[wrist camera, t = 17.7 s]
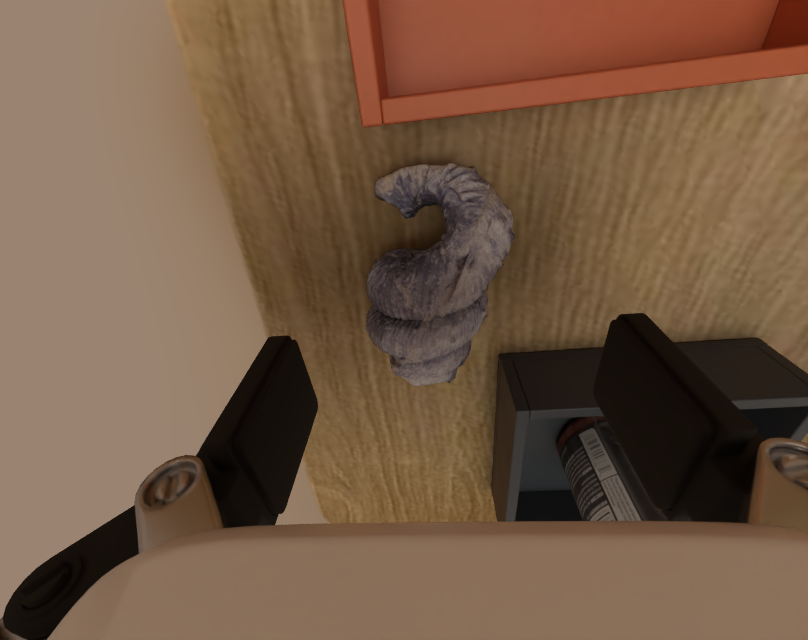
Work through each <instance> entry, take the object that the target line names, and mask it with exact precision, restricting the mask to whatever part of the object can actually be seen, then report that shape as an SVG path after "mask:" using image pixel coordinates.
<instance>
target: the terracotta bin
mask: <svg viewBox="0 0 808 640" xmlns="http://www.w3.org/2000/svg"><path fill="white" fill-rule="evenodd" d="M343 7H344V13H345V20H346V26H347V33H348V39H349V46H350V52H351V59H352V65H353V72H354V78H355V85H356V91H357V98H358V104H359V111H360V118H361V124H362V126H363V127H371V126H380V125H382V124H383V123H384V124H385V125H388V124H396V123H405V122H413V121H421V120H429V119H438V118H446V117H454V116H462V115H470V114H479V113H487V112H495V111H503V110H511V109H520V108H528V107H536V106H544V105H553V104H561V103H569V102H577V101H585V100H594V99H602V98H610V97H618V96H627V95H635V94H643V93H651V92H659V91H668V90H676V89H684V88H692V87H701V86H709V85H717V84H725V83H733V82H742V81H750V80H758V79H766V78H774V77H783V76H791V75H799V74H807V73H808V0H343Z"/></svg>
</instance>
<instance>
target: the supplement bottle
mask: <svg viewBox="0 0 808 640" xmlns="http://www.w3.org/2000/svg"><path fill="white" fill-rule="evenodd" d="M557 451H558V455H559V458H560V460H561V464H562V467H563V470H564V472H565V475H566V477H567V480H568V483H569V485H570V488H571V491H572V494H573V496H574V499H575V501H576V504H577V507H578V509H579V512H580V515H581V517H582V520H583V521H668V519H667V517H666V516H665V514H664V512H663V510H662V509H658V508H656V507H655V506H654V504H653V503H652V501H651V500H650V498H649V496H648V494H647V492H646V491H645V489H644V487H643V485H642V483H641V482H640V480H639V478H638V476H637V474H636V473H635V471H634V469H633V467H632V465H631V464H630V462H629V460H628V458H627V456H626V455H625V453H624V451H623V449H622V447H621V446H620V444H619V442H618V440H617V438H616V437H615V435H614V433H613V431H612V429H611V428H610V426H609V424H608V422H607V420H606V419H605V417H604V416H591V417H580V418H578V419H576V420H575V421H573V422H571V423H570V424H569V425H568V426H567V427H566V428H565V429H564V431H563V432H562V433H561V435H560V437H559V440H558V443H557Z"/></svg>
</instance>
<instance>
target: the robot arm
mask: <svg viewBox="0 0 808 640" xmlns="http://www.w3.org/2000/svg"><path fill="white" fill-rule="evenodd" d="M593 395H594V398H595V400H596V402H597V404H598V406H599V408H600V410H601V411H602V413H603V415H604V417H605V419H606V420H607V422H608V424H609V426H610V428H611V429H612V431H613V433H614V435H615V437H616V438H617V440H618V442H619V444H620V446H621V447H622V449H623V451H624V453H625V455H626V456H627V458H628V460H629V462H630V464H631V465H632V467H633V469H634V471H635V473H636V474H637V476H638V478H639V480H640V482H641V483H642V485H643V487H644V489H645V491H646V492H647V494H648V496H649V498H650V500H651V501H652V503H653V504H654V506H655V507H656V508H658V509H662V510H663V512H664V514H665V516H666V517H667V519H668V521H520V522H412V523H342V524H297V525H275V523H276V520H277V517H278V514H282V513H283V512H284V510H285V508H286V506H287V502H288V499H289V496H290V493H291V490H292V487H293V484H294V481H295V478H296V474H297V472H298V468H299V466H300V462H301V459H302V456H303V453H304V450H305V447H306V444H307V441H308V438H309V435H310V432H311V429H312V426H313V423H314V419H315V416H316V413H317V410H318V401H317V398H316V395H315V392H314V389H313V386H312V383H311V380H310V378H309V375H308V372H307V369H306V366H305V363H304V360H303V357H302V355H301V352H300V349H299V346H298V343H297V341H296V340H292V339H291V338H290V336H272V337H269V338H268V339H267V341H266V342H265V344H264V346H263V347H262V349H261V350H260V352H259V354H258V355H257V357H256V359H255V360H254V362H253V363H252V365H251V367H250V368H249V370H248V371H247V373H246V375H245V376H244V378H243V380H242V381H241V383H240V385H239V386H238V388H237V389H236V391H235V393H234V394H233V396H232V397H231V399H230V401H229V402H228V404H227V406H226V407H225V409H224V410H223V412H222V414H221V415H220V417H219V418H218V420H217V422H216V423H215V425H214V427H213V428H212V430H211V432H210V433H209V435H208V436H207V438H206V440H205V442H204V443H203V445H202V446H201V448H200V450H199V452H198V454H197V455H196V456H191V455H185V456H180V457H176V458H174V459H172V460H169V461H167V462H165V463H164V464H162V465H161V466H159V467H158V468H156V469H155V470H154V471H153V472H152V473H150V475H148V476H147V477H146V479H145V480H144V481H143V483H142V484H141V485H140V487H139V489H138V491H137V493H136V497H135V505H134V506H133V507H131V508H129V509H128V510H126V511H125V512H123V513H121V514H120V515H118V516H117V517H115V518H114V519H112V520H110V521H109V522H107V523H106V524H104V525H102V526H101V527H99V528H98V529H96V530H94V531H93V532H91V533H90V534H88V535H86V536H85V537H83V538H82V539H80V540H79V541H77V542H75V543H74V544H72V545H71V546H69V547H67V548H66V549H64V550H63V551H61V552H59V553H58V554H57V555H55V556H53V557H52V558H50V559H49V560H47V561H46V562H45V563H43V564H42V565H40V566H39V567H38V568H36V569H35V570H34V571H33V572H32V573H31V574H30V575H29V576H28V577H27V578H26V579H25V580H24V581H23V582H22V584H21V585H20V586H19V587H18V588H17V590H16V591H15V592H14V593H13V595H12V597H11V599H10V600H9V602H8V604H7V606H6V608H5V612H4V616H3V617H2V618H1V619H0V640H808V443H805V442H801V441H798V440H794V439H788V438H770V439H767V440H764V439H763V438H762V437H761V436H760V435H759V434H758V433H757V431H758V428H757V427H756V426H755V425H754V424H753V423H752V422H751V421H750V420H749V419H748V418H747V417H746V416H745V415H744V414H743V413H742V412H741V411H740V410H739V409H738V408H737V406H736V405H735V404H734V403H733V402H732V401H731V400H730V399H729V398H728V397H727V396H726V395H725V394H724V393H723V392H722V391H721V390H720V389H719V388H718V387H717V386H716V385H715V384H714V383H713V382H712V381H711V380H710V379H709V378H708V377H707V376H706V375H705V374H704V373H703V372H702V371H701V370H700V369H699V368H698V367H697V366H696V365H695V364H694V363H693V362H692V361H691V360H690V359H689V358H688V357H687V356H686V355H685V354H684V353H683V352H682V351H681V350H680V349H679V348H678V347H677V346H676V345H675V344H674V343H673V342H672V341H671V340H670V339H669V338H668V337H667V336H666V335H665V334H664V333H663V332H662V331H661V330H660V329H659V327H658V326H657V325H656V324H655V323H654V322H653V321H652V320H651V319H650V318H649V317H648V316H647V315H645V314H643V313H635V314H621V315H619V316H618V317H617V319H616V320H612V322H611V323H610V326H609V330H608V334H607V338H606V341H605V345H604V349H603V353H602V356H601V360H600V364H599V368H598V371H597V375H596V379H595V383H594V386H593Z"/></svg>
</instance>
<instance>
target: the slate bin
mask: <svg viewBox="0 0 808 640" xmlns="http://www.w3.org/2000/svg"><path fill="white" fill-rule="evenodd" d="M674 344H675V345H676V346H677V347H678V348H679V349H680V350H681V351H682V352H683V353H684V354H685V355H686V356H687V357H688V358H689V359H690V360H691V361H692V362H693V363H694V364H695V365H696V366H697V367H698V368H699V369H700V370H701V371H702V372H703V373H704V374H705V375H706V376H707V377H708V378H709V379H710V380H711V381H712V382H713V383H714V384H715V385H716V386H717V387H718V388H719V389H720V390H721V391H722V392H723V393H724V394H725V395H726V396H727V397H728V398H729V399H730V400H731V401H732V402H733V403H734V404H735V405H736V406H737V408H738V409H739V410H740V411H741V412H742V413H743V414H744V415H745V416H746V417H747V418H748V419H749V420H750V421H751V422H752V423H753V424H754V425H755V426H756V427H757V428H758V431H757V433H758V434H759V435H760V436H761V437H762V438H763V439H764V440H767V439H770V438H788V439H794V440H798V441H801V440H802V439H803V438H804V437H805V435H806V434H807V433H808V374H807V373H806V372H804V371H803V370H802V369H800V368H799V367H798V366H796V365H795V364H793V363H792V362H791V361H789V360H788V359H787V358H785V357H784V356H782V355H781V354H780V353H778V352H777V351H776V350H774V349H773V348H771V347H770V346H768V345H767V344H766V343H765V342H763V341H762V340H761V339H759V338H749V339H733V340H717V341H702V342H686V343H674ZM603 349H604V348H592V349H576V350H560V351H544V352H529V353H513V354H499V362H498V380H497V398H496V416H495V434H494V452H493V470H492V488H491V490H492V495H493V500H494V506H495V511H496V516H497V522H520V521H583V520H582V517H581V515H580V512H579V509H578V507H577V504H576V501H575V499H574V496H573V494H572V491H571V488H570V485H569V483H568V480H567V477H566V475H565V472H564V470H563V467H562V464H561V460H560V458H559V455H558V451H557V443H558V440H559V437H560V435H561V433H562V432H563V431H564V429H565V428H566V427H567V426H568V425H569V424H570V423H571V422H573V421H575V420H576V419H578V418H580V417H591V416H604V415H603V413H602V411H601V410H600V408H599V406H598V404H597V402H596V400H595V398H594V395H593V386H594V383H595V379H596V375H597V371H598V368H599V364H600V360H601V356H602V353H603Z"/></svg>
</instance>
